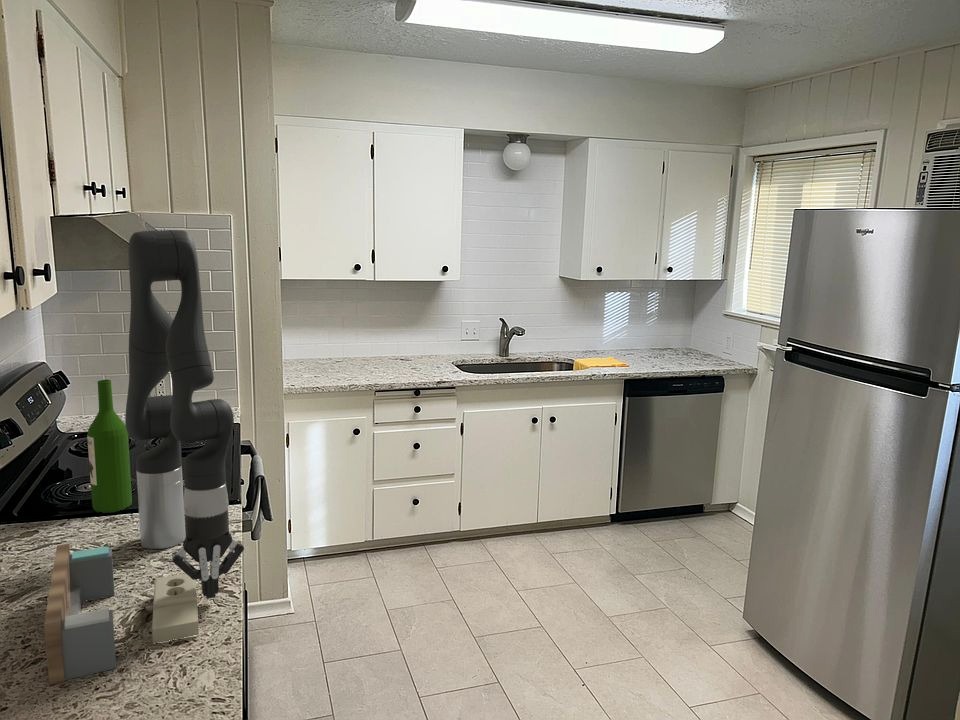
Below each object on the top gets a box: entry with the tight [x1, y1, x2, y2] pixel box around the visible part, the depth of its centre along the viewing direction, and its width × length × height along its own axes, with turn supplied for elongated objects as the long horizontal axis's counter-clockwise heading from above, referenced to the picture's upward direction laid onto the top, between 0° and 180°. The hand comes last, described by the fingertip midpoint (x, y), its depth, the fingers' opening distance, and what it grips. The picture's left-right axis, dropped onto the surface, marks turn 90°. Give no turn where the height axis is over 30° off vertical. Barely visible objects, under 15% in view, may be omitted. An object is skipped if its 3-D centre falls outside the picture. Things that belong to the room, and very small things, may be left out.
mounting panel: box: [43, 543, 71, 686], centre depth 120 cm, size 31×2×10 cm, turn 28°
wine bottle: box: [87, 379, 133, 514], centre depth 176 cm, size 9×9×32 cm
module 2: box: [61, 607, 117, 681], centre depth 111 cm, size 4×7×9 cm, turn 118°
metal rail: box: [68, 584, 82, 616], centre depth 122 cm, size 22×2×4 cm, turn 27°
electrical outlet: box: [151, 573, 200, 644], centre depth 128 cm, size 7×4×18 cm
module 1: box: [69, 545, 115, 602], centre depth 134 cm, size 4×7×9 cm, turn 118°
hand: (210, 596), depth 132 cm, fingers closed
